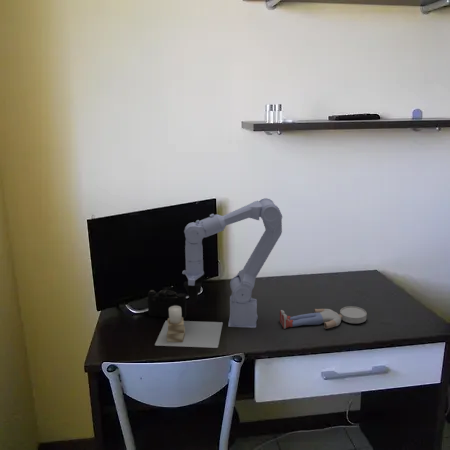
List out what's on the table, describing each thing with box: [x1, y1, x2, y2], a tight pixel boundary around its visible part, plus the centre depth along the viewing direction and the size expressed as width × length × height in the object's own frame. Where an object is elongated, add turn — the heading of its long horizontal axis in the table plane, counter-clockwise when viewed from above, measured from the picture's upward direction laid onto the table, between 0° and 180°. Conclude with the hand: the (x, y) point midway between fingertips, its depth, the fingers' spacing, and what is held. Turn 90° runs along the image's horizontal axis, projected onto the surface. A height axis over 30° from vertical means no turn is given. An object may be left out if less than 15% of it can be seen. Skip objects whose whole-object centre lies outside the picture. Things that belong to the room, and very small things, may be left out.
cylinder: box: [169, 306, 182, 324], centre depth 155 cm, size 4×4×4 cm
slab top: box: [167, 317, 185, 334], centre depth 156 cm, size 5×5×3 cm
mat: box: [154, 319, 224, 349], centre depth 160 cm, size 20×17×1 cm
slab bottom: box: [167, 326, 185, 342], centre depth 157 cm, size 5×5×3 cm
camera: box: [147, 288, 187, 320], centre depth 175 cm, size 14×11×10 cm
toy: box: [279, 305, 368, 330], centre depth 168 cm, size 6×13×30 cm
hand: (195, 297), depth 164 cm, fingers open, 7 cm apart
